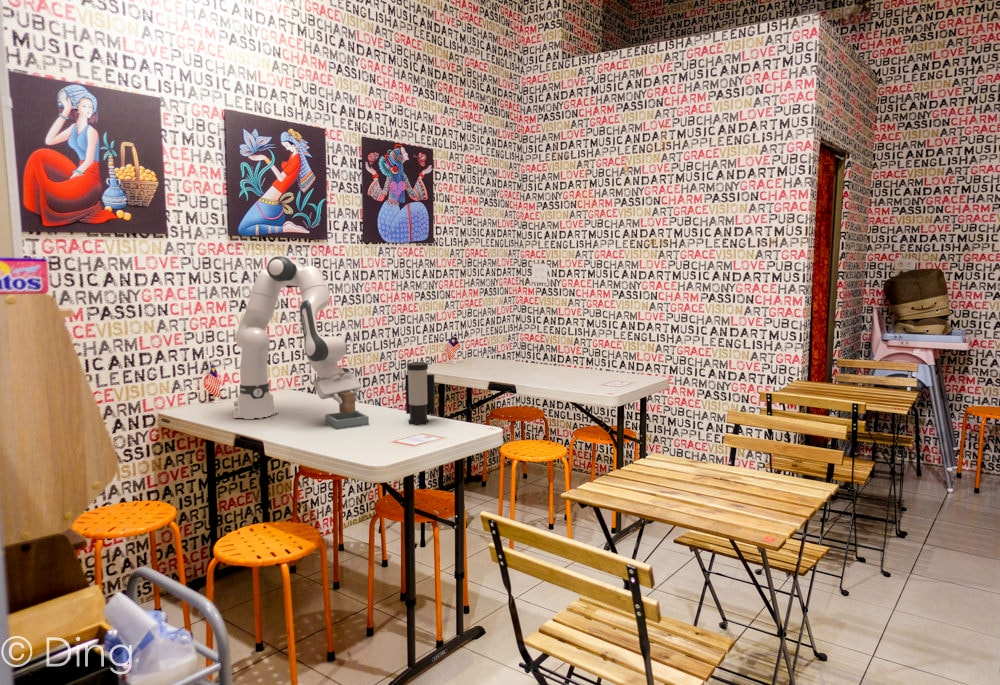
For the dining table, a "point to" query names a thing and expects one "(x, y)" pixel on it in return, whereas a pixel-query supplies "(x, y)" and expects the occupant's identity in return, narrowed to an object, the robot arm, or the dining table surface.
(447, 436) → the dining table surface
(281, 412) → the dining table surface
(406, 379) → the light fixture
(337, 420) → the tray
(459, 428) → the dining table surface
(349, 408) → the walnut block
